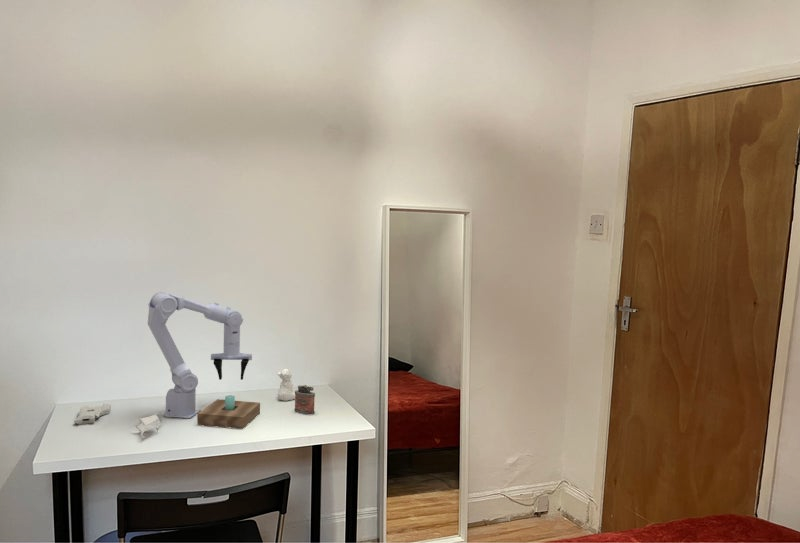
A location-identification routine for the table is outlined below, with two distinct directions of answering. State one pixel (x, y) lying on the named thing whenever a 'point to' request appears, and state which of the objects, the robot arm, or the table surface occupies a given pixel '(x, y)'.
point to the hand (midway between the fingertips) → (231, 378)
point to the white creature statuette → (285, 386)
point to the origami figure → (148, 423)
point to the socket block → (228, 414)
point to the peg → (230, 402)
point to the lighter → (304, 400)
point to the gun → (91, 413)
